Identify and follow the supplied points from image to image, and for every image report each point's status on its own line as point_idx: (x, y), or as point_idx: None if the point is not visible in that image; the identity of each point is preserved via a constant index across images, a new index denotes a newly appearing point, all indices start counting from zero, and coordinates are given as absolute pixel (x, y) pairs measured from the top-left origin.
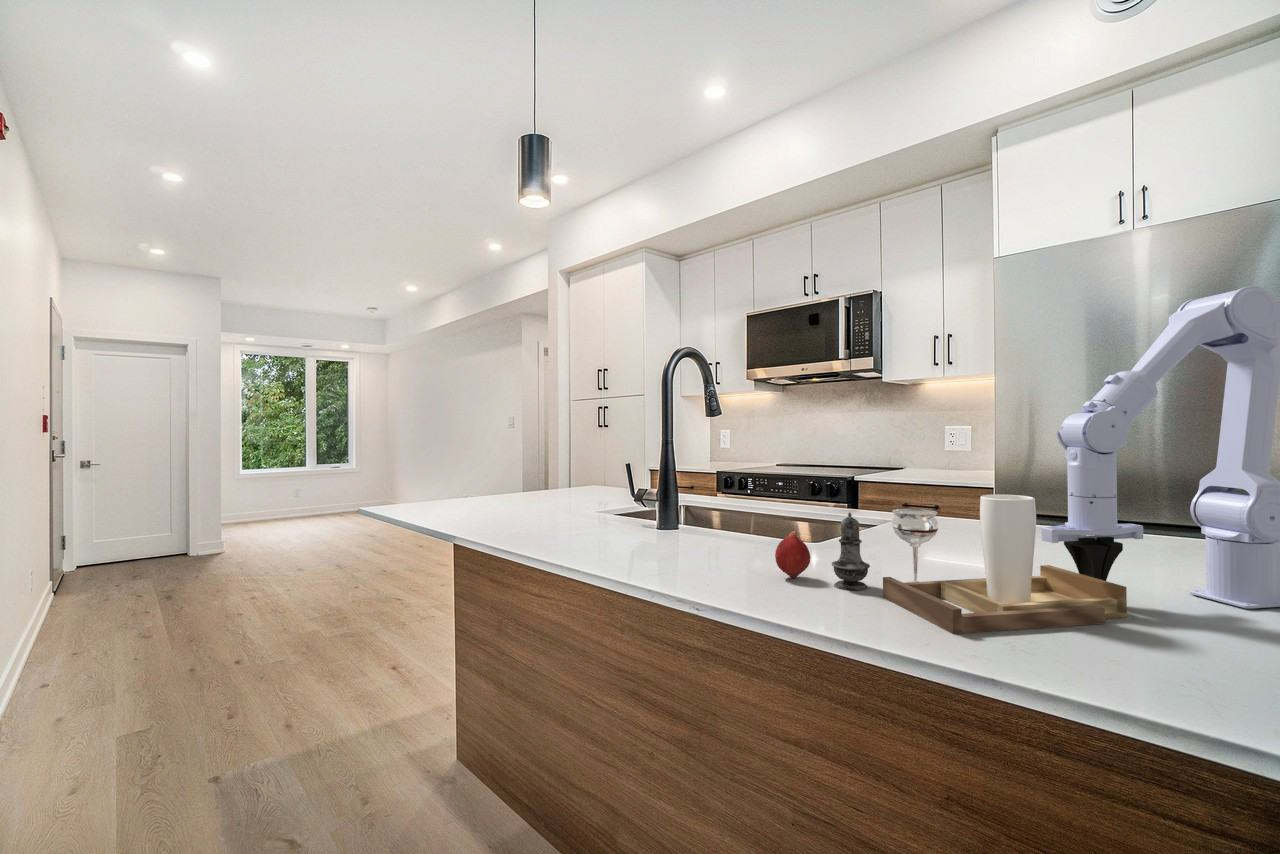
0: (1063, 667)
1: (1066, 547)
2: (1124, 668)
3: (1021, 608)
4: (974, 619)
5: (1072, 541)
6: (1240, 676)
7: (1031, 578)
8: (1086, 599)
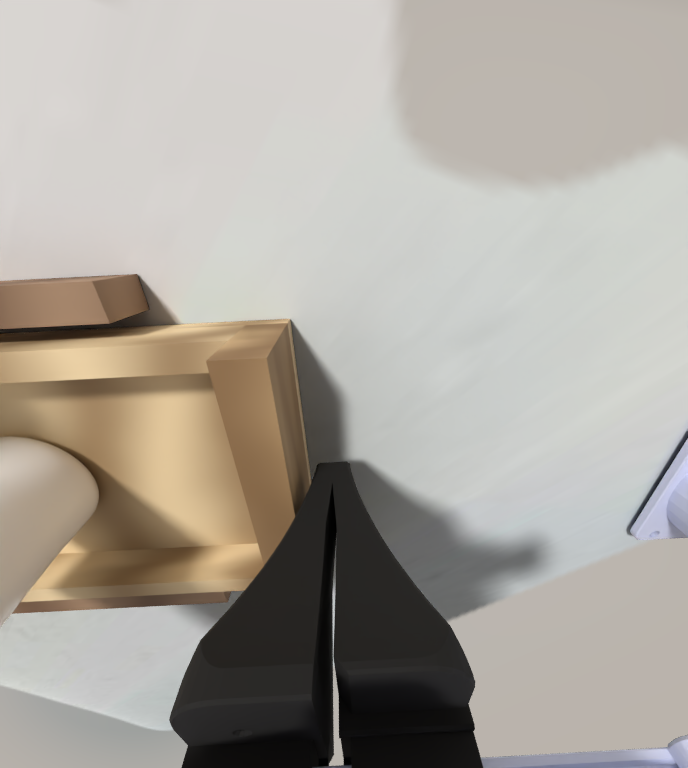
0: (64, 662)
1: (217, 626)
2: (145, 666)
3: None
4: None
5: (191, 745)
6: None
7: (23, 598)
8: (209, 583)
